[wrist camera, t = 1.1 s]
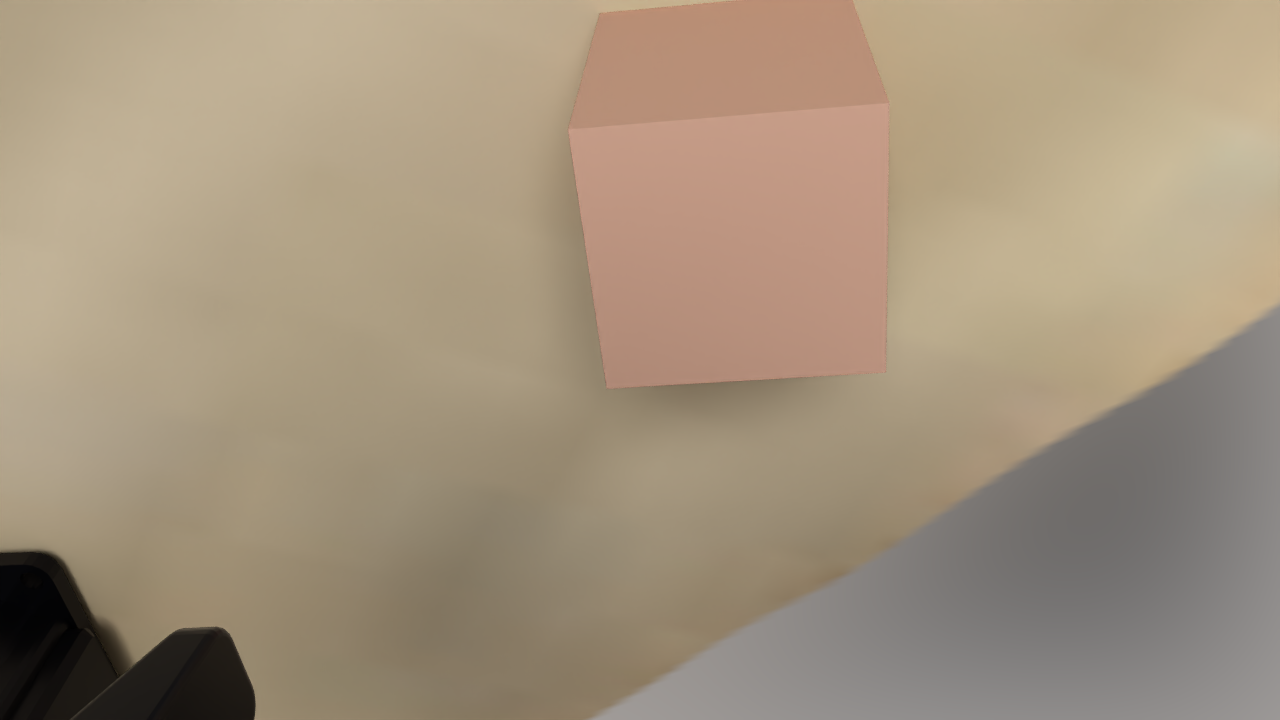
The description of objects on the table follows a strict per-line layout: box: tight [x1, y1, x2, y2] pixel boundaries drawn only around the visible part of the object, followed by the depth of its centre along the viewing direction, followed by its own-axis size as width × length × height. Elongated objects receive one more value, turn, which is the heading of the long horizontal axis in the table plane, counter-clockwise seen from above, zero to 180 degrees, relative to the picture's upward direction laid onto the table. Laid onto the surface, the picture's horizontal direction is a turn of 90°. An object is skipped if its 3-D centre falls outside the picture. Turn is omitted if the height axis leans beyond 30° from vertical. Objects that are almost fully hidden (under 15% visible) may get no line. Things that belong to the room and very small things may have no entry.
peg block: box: [568, 0, 889, 389], centre depth 17 cm, size 4×4×5 cm
